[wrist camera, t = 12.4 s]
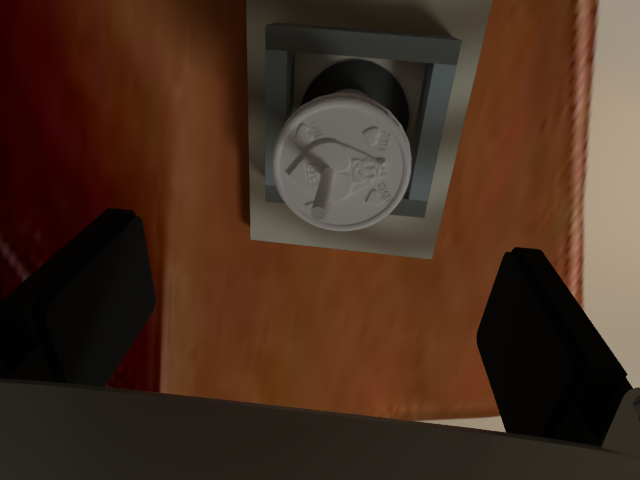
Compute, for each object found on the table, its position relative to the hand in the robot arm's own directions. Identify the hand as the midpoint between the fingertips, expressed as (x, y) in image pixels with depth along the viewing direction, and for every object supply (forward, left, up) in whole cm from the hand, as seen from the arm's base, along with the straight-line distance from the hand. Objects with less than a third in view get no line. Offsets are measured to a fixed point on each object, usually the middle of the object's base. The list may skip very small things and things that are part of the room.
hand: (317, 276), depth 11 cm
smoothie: (0, 0, -19) cm, 19 cm away
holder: (0, 0, -20) cm, 20 cm away
